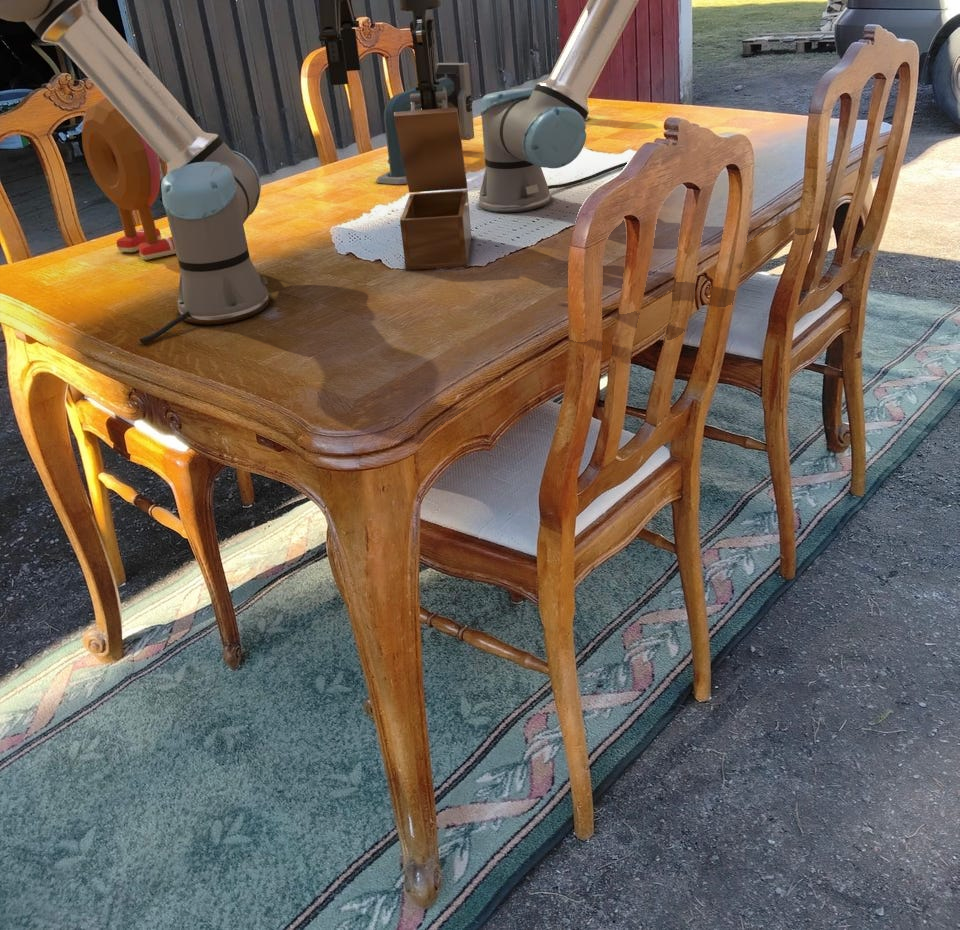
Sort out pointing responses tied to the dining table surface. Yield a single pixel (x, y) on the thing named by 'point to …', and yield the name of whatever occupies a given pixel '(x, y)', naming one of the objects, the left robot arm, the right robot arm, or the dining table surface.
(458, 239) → the chest
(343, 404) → the dining table surface
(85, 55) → the left robot arm
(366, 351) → the dining table surface
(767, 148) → the dining table surface
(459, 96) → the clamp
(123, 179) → the toy
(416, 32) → the right robot arm
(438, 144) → the lid
